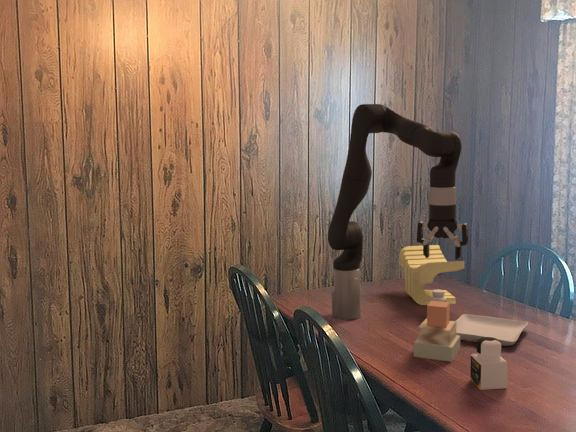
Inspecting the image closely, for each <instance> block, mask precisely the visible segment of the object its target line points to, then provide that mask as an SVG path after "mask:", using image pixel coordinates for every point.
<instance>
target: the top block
mask: <svg viewBox="0 0 576 432" xmlns="http://www.w3.org/2000/svg"><path fill="white" fill-rule="evenodd" d="M417 329H418V333H417V334H418V336H417V339H418V342H421V343H429V344H437V345H446V346H450V345H451V343H452V342H453V340H454V339H455V338H456V320H450V322H449V324H448V326H447V327H446V328H444V327H434V326H427V317H426V318H425V319H424V320H423V321H422V322H421V323H420V325H418V328H417Z"/></svg>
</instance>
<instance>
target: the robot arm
mask: <svg viewBox="0 0 576 432" xmlns="http://www.w3.org/2000/svg"><path fill="white" fill-rule="evenodd" d="M381 133H385V134H386V133H387V134H392V135H395V136H396V137H397V138H398V139H399V140H400V141H401V142H403V143H404V144H406V145H408V146H411V147H413V148H416V149H419V150H420V151H421V152H422V153H423V154H424V155H426V156H429V157H431V158H440V159H439V162H438V163H437V164H436V165H434V166H432V167H431V168H430V171H429V191H428V192H429V193H428V221H427V222H425V221H422V220H420V221H419V222H418V223H417V226H416V227H417V228H416V229H417V231H416V242H417V243H420V244H421V245H422V246H423V255H424V256H425V258H428V257H429V245H430V242H431V240H432V239H433V238H437V239H440V238H443V239H450V240H451V241H452V242H453V243H454V245H455V251H454V254H455V255H454V257H455V258H454V259H455V261H459V259H460V258H461V257H462V247H464V246H466V245H467V244H468V243H469V229H468V223H467V222H464V223H458V222H457V200H458V199H457V191H456V171H457V168H458V164H459V161H460V156H461V153H462V148H463V147H462V140H461V137H460V135H459V134H458V133H457V132H456V131H452V130H449V131H447V130H446V131H434V129H433V128H432V127H431V126H429V125H427V124H424V123H421V122H419V121H415V120H412V119H410V118H407V117H405V116H402V115H400V114H399V113H397V112H396V111H394V110H392V109H390V108H389V107H387V106H385V105H384V104H380V103H364V104H363V103H362V104H359V105H358V106H357V107H356V108H355V109H354V112H353V115H352V120H351V129H350V136H349V144H348V145H349V146H348V151H347V155H346V159H345V160H346V161H345V166H344V169H343V173H342V176H341V182H340V189H339V193H338V197H337V201H336V205H335V207H334V208H335V209H334V212H333V215H332V218H331V220H330V223H329V226H328V229H327V230H328V231H327V242H328V246H329V247H330V248H331V249H332V250H334V251H342V252H341V254H340V255H338V257H336V258H334V260H333V264H332V266H333V272H332V273H333V289H332V290H331V312H332V313H331V316H332V317H333V318H336V319H339V320H344V321H345V320H347V321H349V320H357V319H359V318H360V317H361V316H362V315H361V313H362V310H361V309H362V308H361V303H362V302H361V299H362V297H361V262H362V259H363V243H364V242H363V231H362V227H361V226H360V224H359V223H358V222H357V221H353V220H352V221H350V220H351V218H352V215H353V213H354V212H355V211H356V209H357V208H358V207H359V205H360V204H361V202H363V200H364V198H365V197H366V195H367V193H369V192H368V191H369V189H370V184H371V179H372V175H373V173H372V170H373V169H372V166H371V163H370V160H369V157H368V154H367V144H368V143H367V142H368V139H369V138H368V137H369V134H381ZM426 227H427V228H428V231H430V233H429V234H428V235H427V237H426V238H424V230H425V229H426ZM457 229H459V231H460V232H461V237H462V238H461V239H462V240H460V238H459V237H458V236H459V235H457V233H456V232H455V231H456V230H457Z"/></svg>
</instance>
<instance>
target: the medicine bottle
mask: <svg viewBox="0 0 576 432" xmlns="http://www.w3.org/2000/svg"><path fill="white" fill-rule="evenodd" d="M508 366H509V365H508V361H507V360H505V359H504V358H503V357H502V346H501V341H500V340H498V339H496V338H493V337H483V338H480V339H478V340H477V342H476V353H471V354H470V380H471V382H472V383H474V385H475V386H476V387H477V388H478V389H479V390H480V391H487V390H500V389H501V390H503V389H505V390H506V389H507V388H508Z"/></svg>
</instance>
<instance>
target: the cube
mask: <svg viewBox="0 0 576 432" xmlns="http://www.w3.org/2000/svg"><path fill="white" fill-rule="evenodd" d="M450 308H451V304H450V302H441V301H430V303H429V304H428V305H426V318H427V326H434V327H444V328H446V327H447V326H448V324H449V322H450V321H451V320H450V319H451V318H450V317H451V316H450V314H451V311H450V310H451V309H450Z"/></svg>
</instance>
